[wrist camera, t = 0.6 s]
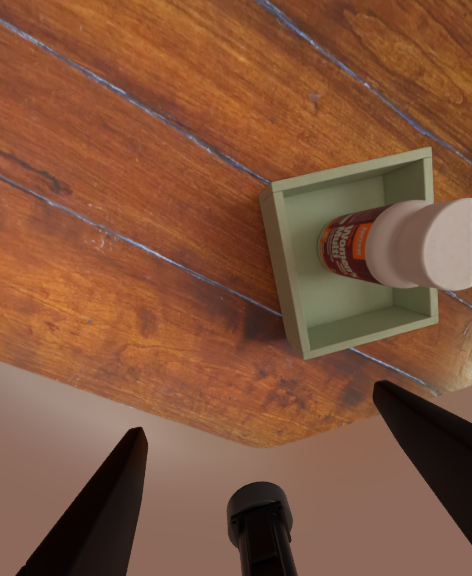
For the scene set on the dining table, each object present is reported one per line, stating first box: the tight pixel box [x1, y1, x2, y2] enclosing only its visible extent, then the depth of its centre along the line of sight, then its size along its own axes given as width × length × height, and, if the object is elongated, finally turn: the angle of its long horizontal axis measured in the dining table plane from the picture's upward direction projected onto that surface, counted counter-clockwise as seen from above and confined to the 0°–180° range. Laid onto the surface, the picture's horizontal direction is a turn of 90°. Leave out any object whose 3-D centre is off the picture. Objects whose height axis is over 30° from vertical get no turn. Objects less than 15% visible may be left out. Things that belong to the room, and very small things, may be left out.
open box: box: [258, 146, 439, 360], centre depth 21 cm, size 16×14×5 cm
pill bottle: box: [318, 198, 472, 291], centre depth 18 cm, size 6×6×11 cm
